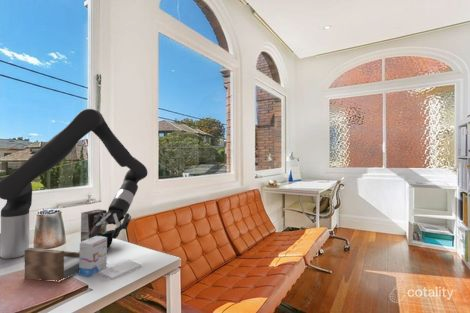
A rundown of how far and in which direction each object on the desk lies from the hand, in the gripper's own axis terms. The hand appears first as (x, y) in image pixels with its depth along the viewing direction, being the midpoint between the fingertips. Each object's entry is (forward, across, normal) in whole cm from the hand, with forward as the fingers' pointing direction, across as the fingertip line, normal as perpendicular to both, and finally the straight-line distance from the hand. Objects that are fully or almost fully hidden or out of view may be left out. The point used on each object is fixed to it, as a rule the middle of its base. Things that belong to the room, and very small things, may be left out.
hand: (103, 237), depth 100 cm
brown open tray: (+14, -12, +2) cm, 18 cm away
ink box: (+12, 0, +4) cm, 12 cm away
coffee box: (-5, -19, +20) cm, 28 cm away
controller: (-1, -10, +17) cm, 20 cm away
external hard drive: (+10, +10, +6) cm, 15 cm away
